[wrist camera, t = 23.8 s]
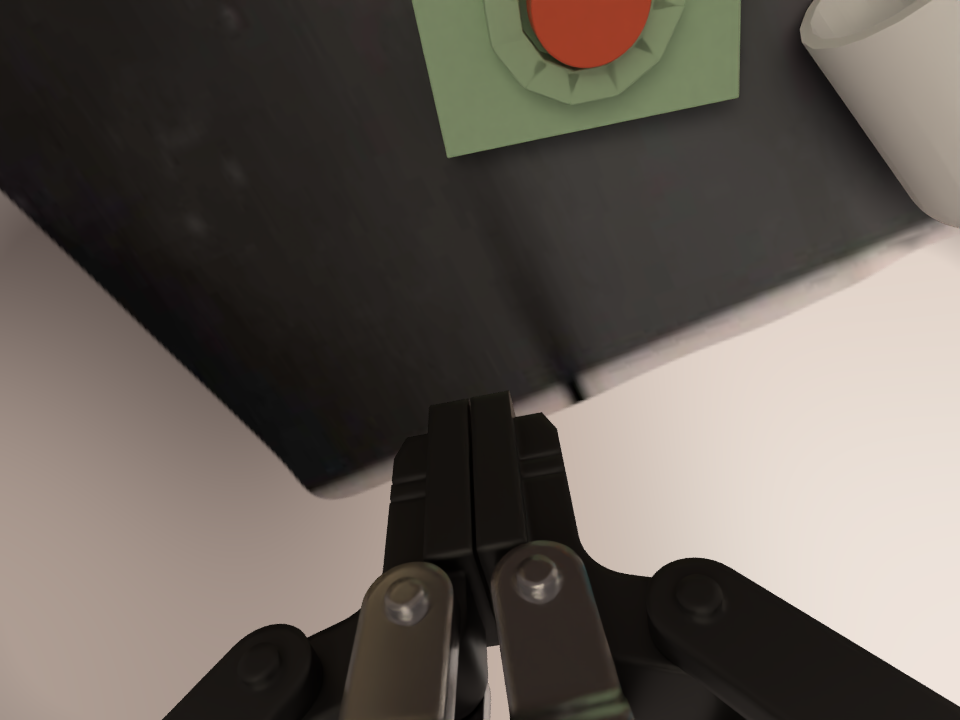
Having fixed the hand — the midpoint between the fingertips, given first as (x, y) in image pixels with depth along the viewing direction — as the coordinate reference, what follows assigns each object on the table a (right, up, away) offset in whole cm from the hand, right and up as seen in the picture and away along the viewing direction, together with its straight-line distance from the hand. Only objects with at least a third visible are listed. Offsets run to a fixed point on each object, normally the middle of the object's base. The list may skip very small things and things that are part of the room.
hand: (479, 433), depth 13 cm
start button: (+4, +14, +11) cm, 18 cm away
